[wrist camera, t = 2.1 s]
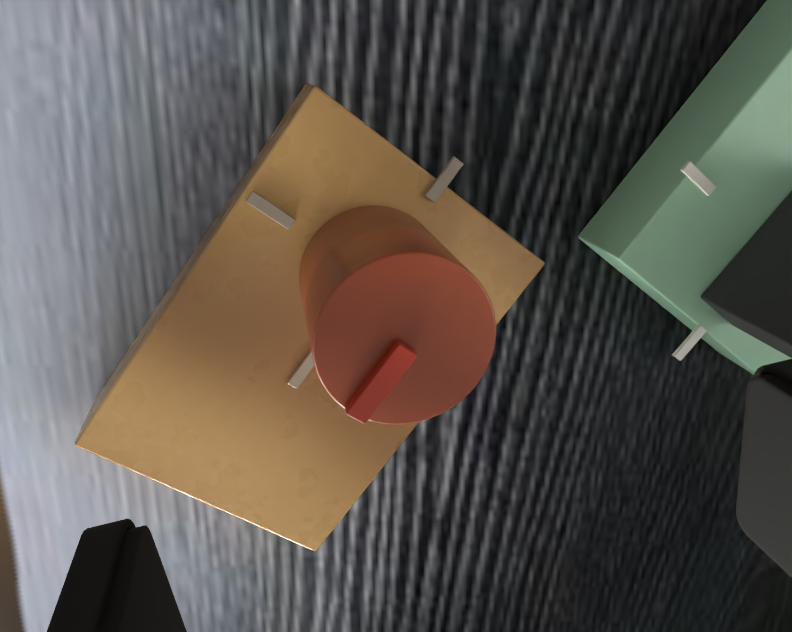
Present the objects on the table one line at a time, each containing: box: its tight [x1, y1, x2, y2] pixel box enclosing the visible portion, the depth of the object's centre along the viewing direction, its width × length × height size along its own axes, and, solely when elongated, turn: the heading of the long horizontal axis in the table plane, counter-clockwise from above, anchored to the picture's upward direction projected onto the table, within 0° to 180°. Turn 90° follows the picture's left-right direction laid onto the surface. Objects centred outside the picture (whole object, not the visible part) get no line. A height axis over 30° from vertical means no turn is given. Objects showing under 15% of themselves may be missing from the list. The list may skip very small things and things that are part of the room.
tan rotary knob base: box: [75, 83, 545, 551], centre depth 21 cm, size 14×9×3 cm, turn 142°
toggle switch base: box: [578, 0, 792, 375], centre depth 23 cm, size 13×10×3 cm
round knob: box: [299, 206, 496, 425], centre depth 17 cm, size 4×4×5 cm
